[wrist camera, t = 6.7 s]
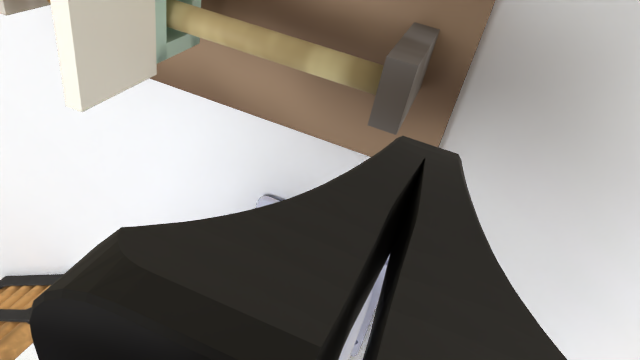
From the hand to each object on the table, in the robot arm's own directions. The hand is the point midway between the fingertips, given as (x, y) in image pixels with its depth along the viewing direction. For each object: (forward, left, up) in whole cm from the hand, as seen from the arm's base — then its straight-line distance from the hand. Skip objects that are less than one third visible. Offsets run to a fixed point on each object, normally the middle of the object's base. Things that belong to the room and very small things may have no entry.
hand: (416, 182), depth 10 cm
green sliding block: (0, +12, -7) cm, 14 cm away
